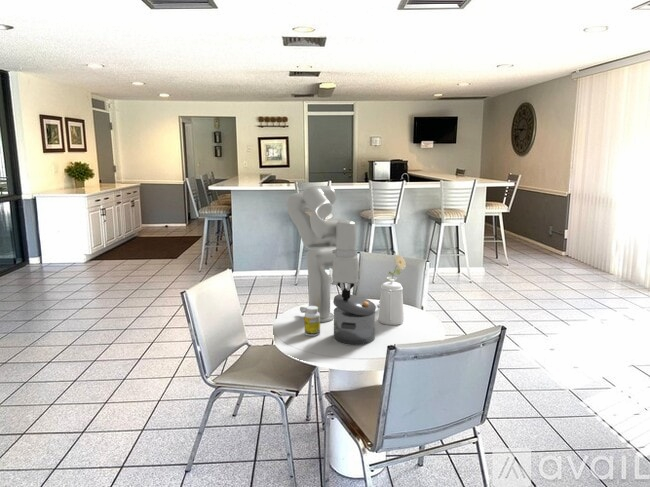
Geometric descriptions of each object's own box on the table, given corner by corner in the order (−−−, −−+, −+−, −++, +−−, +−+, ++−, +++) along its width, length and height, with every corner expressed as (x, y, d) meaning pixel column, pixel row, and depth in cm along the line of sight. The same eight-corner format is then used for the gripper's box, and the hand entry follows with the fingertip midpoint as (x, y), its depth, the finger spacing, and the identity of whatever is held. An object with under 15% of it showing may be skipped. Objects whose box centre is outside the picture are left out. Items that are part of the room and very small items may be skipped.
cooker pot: (326, 345, 179) (326, 317, 177) (341, 326, 199) (341, 301, 197) (368, 349, 174) (369, 321, 172) (379, 330, 194) (379, 304, 192)
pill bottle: (304, 331, 193) (304, 305, 191) (319, 330, 194) (319, 304, 192) (304, 336, 187) (304, 310, 185) (320, 336, 188) (320, 309, 186)
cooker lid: (328, 306, 178) (329, 299, 178) (339, 294, 194) (341, 287, 193) (370, 319, 174) (372, 312, 174) (378, 306, 190) (380, 299, 189)
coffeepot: (375, 331, 193) (376, 286, 190) (380, 312, 217) (381, 272, 214) (402, 333, 191) (403, 288, 188) (404, 313, 215) (405, 273, 212)
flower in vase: (388, 311, 218) (389, 258, 214) (374, 304, 228) (375, 253, 224) (410, 306, 225) (412, 255, 220) (396, 300, 234) (397, 251, 230)
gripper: (324, 254, 180) (325, 300, 183) (363, 255, 176) (363, 303, 179) (329, 250, 187) (330, 295, 190) (367, 252, 183) (366, 298, 186)
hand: (346, 299), depth 184 cm, fingers closed
